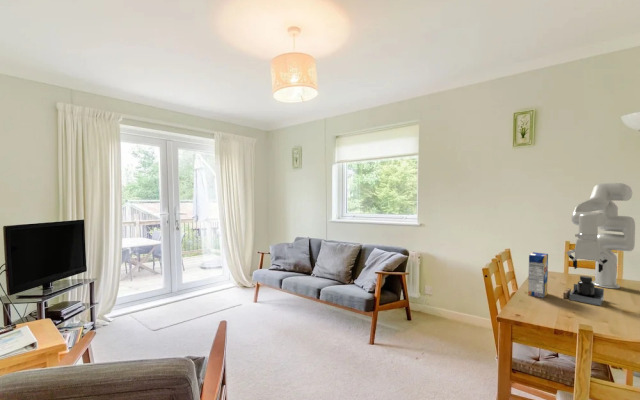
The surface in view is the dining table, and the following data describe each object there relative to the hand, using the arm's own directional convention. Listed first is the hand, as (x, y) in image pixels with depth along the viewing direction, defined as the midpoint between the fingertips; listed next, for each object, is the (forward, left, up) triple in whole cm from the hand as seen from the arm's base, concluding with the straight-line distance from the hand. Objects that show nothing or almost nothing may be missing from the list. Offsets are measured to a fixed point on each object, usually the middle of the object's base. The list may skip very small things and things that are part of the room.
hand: (587, 269), depth 163 cm
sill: (+1, -8, -16) cm, 18 cm away
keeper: (+1, 0, -16) cm, 16 cm away
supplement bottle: (+1, 0, -16) cm, 16 cm away
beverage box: (+9, -20, -16) cm, 27 cm away
